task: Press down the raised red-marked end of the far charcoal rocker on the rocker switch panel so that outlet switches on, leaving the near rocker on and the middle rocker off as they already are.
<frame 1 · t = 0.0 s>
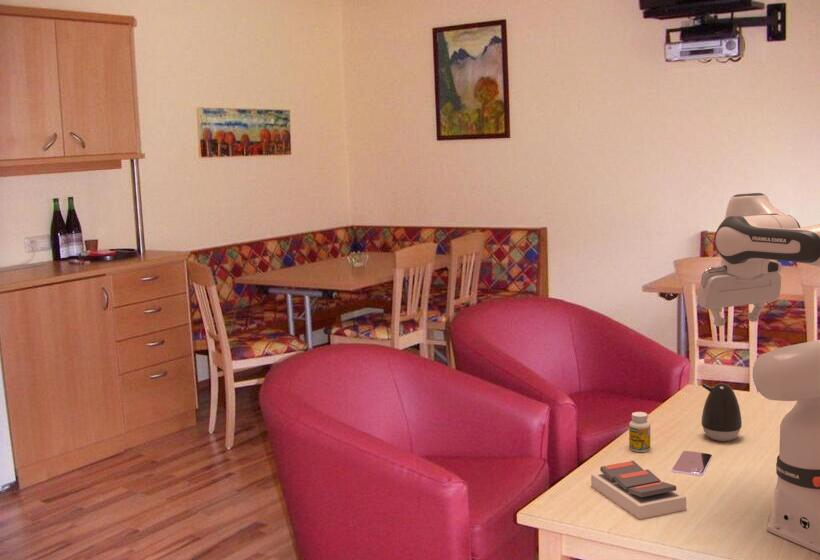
hand: (736, 323, 207), 39 cm above the table, tool pointing down, fingers open, 8 cm apart
pump dispenser: (720, 438, 244), on the table
rocker 2: (637, 479, 207), point 4 cm above the table, hinge at -10.0°
rocker 1: (652, 489, 202), point 4 cm above the table, hinge at 10.0°
mobile phone: (692, 465, 227), on the table
rocker 3: (622, 470, 213), point 4 cm above the table, hinge at -10.0°
supplement bottle: (639, 449, 238), on the table
rocker switch panel: (637, 497, 208), on the table
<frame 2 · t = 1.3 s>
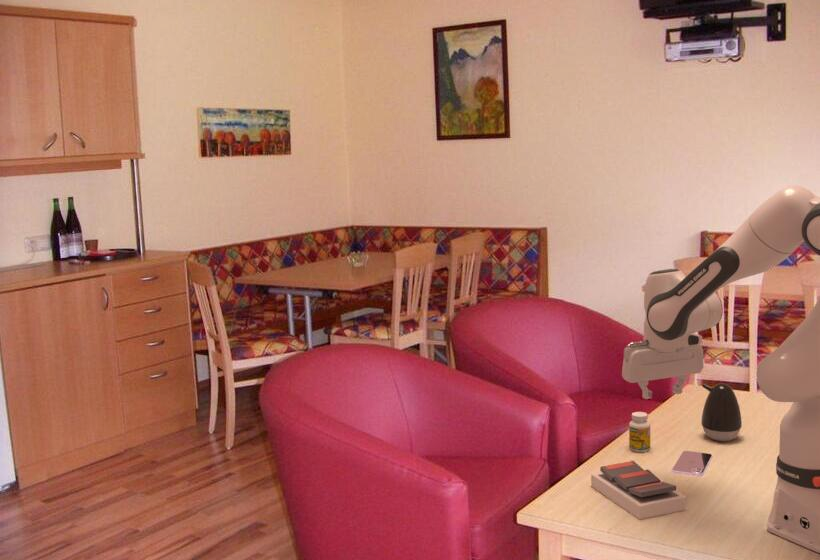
hand: (662, 395, 212), 21 cm above the table, tool pointing down, fingers open, 7 cm apart
nothing on the table moved.
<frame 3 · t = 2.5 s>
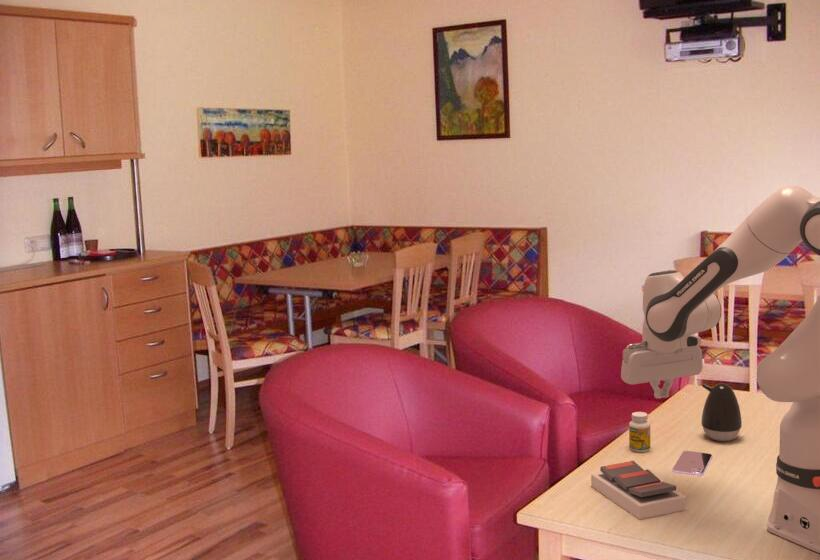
hand: (661, 397, 212), 21 cm above the table, tool pointing down, fingers closed
nothing on the table moved.
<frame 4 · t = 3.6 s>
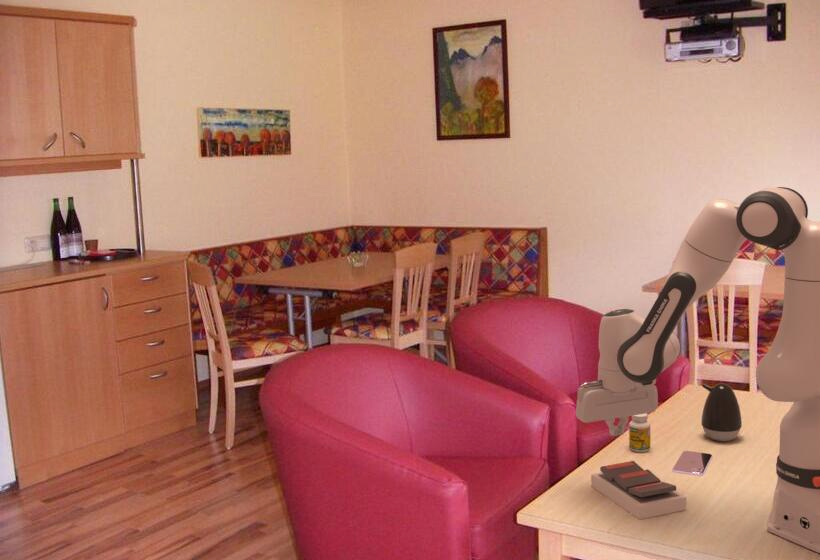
hand: (616, 434, 214), 12 cm above the table, tool pointing down, fingers closed
nothing on the table moved.
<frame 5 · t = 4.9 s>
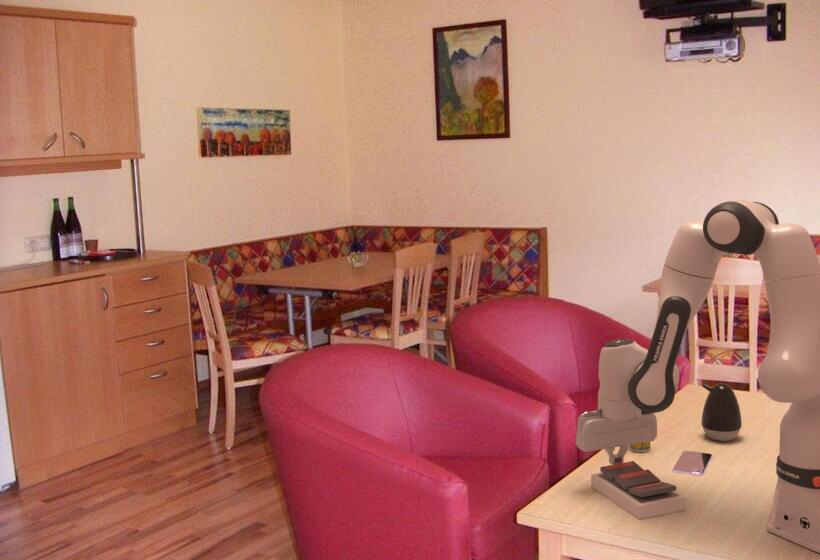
hand: (616, 463, 215), 5 cm above the table, tool pointing down, fingers closed, pressing on rocker 3
rocker 3: (622, 470, 213), point 4 cm above the table, hinge at -8.0°, touching gripper
everything else where it was.
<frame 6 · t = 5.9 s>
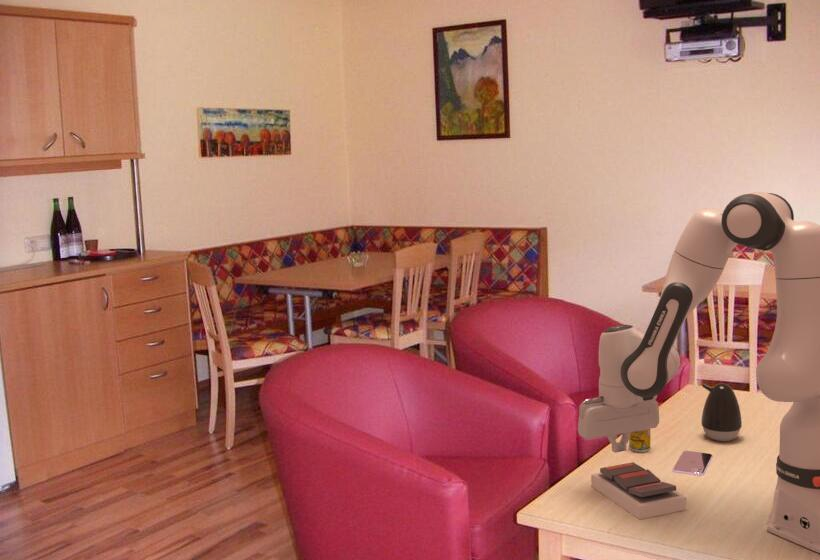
hand: (619, 451, 213), 9 cm above the table, tool pointing down, fingers closed
rocker 3: (622, 470, 213), point 4 cm above the table, hinge at 0.4°
everything else where it was.
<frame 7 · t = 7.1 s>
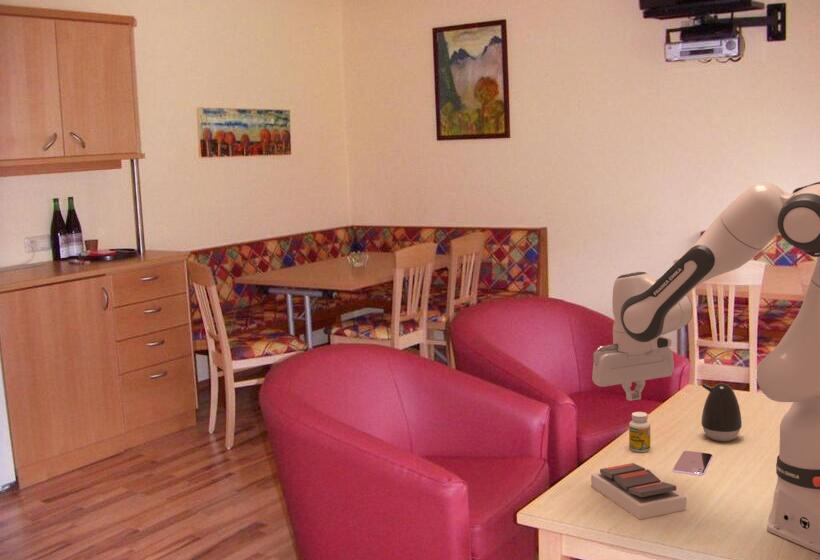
hand: (633, 399, 212), 21 cm above the table, tool pointing down, fingers closed
rocker 3: (622, 470, 213), point 4 cm above the table, hinge at 5.8°
everything else where it was.
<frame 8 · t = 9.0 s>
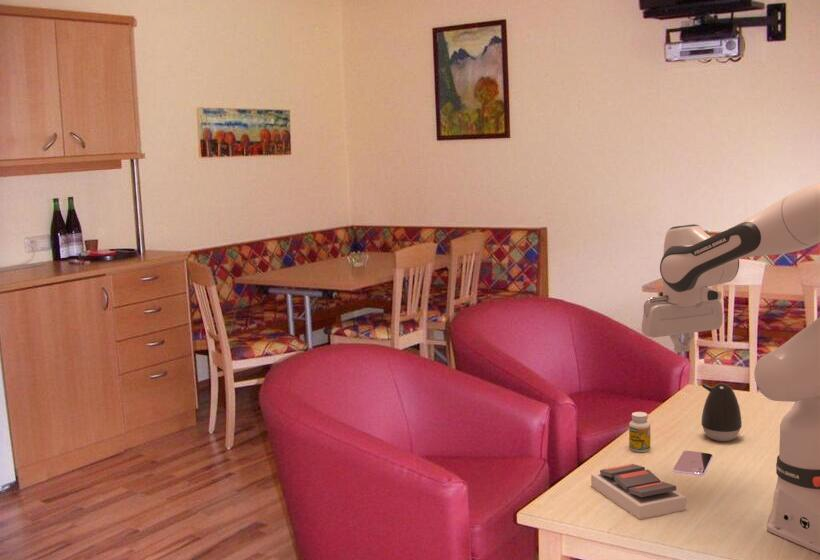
hand: (681, 351, 214), 31 cm above the table, tool pointing down, fingers closed
rocker 3: (622, 470, 213), point 4 cm above the table, hinge at 11.3°
everything else where it was.
at the end: rocker 3 at +12° (first picture: -10°); rocker 1 at +10° (first picture: +10°); rocker 2 at -10° (first picture: -10°) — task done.
